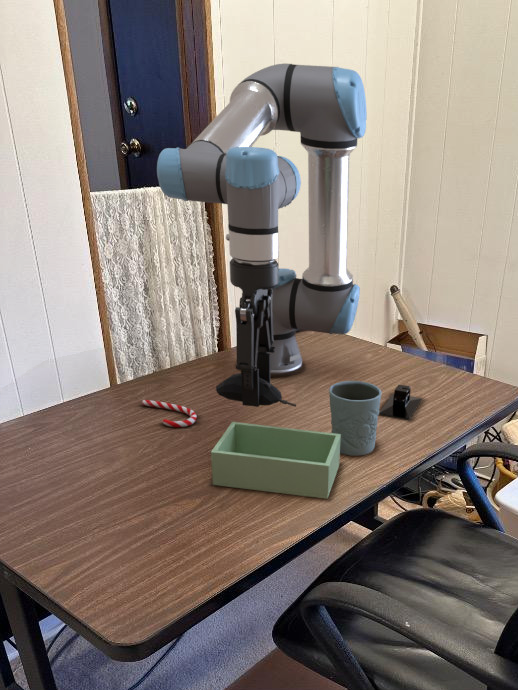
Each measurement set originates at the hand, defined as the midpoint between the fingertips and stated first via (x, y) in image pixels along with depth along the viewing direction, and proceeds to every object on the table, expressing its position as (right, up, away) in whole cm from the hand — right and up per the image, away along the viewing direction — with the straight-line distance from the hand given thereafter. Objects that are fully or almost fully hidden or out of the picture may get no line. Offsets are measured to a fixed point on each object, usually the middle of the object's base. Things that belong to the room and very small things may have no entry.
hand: (256, 396), depth 119 cm
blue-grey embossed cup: (+16, -7, +20) cm, 26 cm away
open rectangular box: (+3, -13, +7) cm, 15 cm away
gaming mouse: (0, 0, 0) cm, 1 cm away
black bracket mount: (+26, +3, +38) cm, 46 cm away
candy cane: (-23, 0, +26) cm, 35 cm away
